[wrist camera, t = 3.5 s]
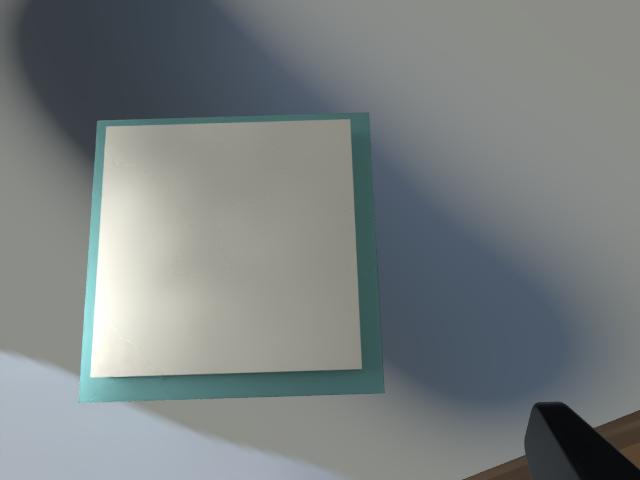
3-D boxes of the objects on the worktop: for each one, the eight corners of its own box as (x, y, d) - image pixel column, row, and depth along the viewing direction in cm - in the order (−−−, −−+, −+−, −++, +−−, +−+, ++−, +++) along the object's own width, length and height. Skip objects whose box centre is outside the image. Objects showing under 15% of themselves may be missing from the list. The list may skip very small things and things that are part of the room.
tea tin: (351, 385, 18) (388, 393, 8) (206, 389, 18) (63, 404, 8) (345, 243, 19) (371, 98, 9) (208, 248, 19) (85, 106, 9)
